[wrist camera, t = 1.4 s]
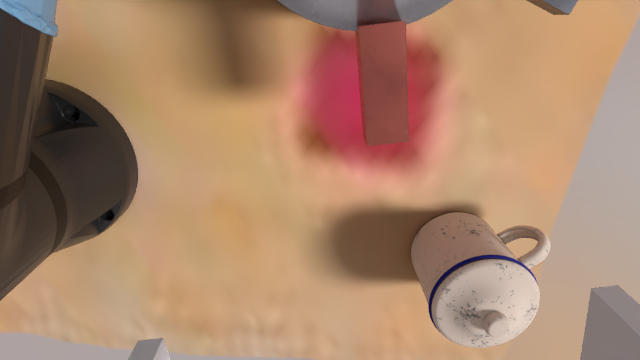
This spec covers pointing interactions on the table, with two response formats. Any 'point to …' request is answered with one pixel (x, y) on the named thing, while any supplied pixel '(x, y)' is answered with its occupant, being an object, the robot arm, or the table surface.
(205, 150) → the table surface
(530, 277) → the teacup with lid
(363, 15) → the lid
